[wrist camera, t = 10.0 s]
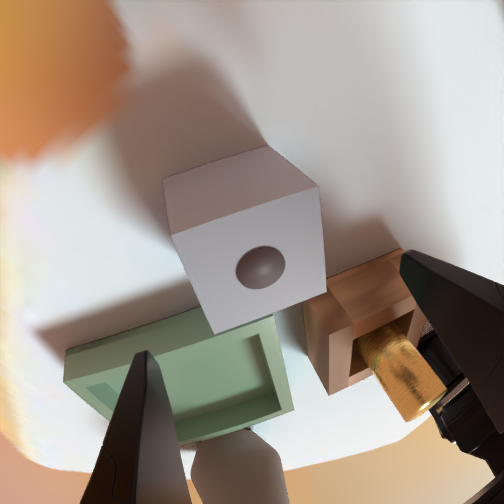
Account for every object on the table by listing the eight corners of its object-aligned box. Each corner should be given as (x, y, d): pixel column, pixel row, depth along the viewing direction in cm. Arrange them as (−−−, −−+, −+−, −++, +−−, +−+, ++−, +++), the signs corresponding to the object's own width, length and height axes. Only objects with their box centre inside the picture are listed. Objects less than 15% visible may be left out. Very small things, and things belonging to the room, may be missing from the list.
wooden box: (401, 247, 21) (436, 282, 18) (389, 319, 26) (415, 351, 23) (300, 289, 20) (329, 334, 17) (308, 356, 25) (328, 395, 22)
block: (267, 144, 14) (319, 186, 10) (283, 231, 17) (327, 292, 13) (162, 178, 14) (170, 236, 10) (194, 263, 17) (214, 335, 13)
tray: (258, 286, 19) (273, 315, 17) (284, 387, 27) (294, 409, 25) (66, 350, 17) (63, 381, 15) (149, 429, 25) (153, 452, 23)
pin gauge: (376, 288, 22) (453, 380, 15) (372, 317, 24) (438, 403, 17) (338, 305, 21) (412, 408, 14) (337, 333, 23) (400, 428, 16)
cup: (166, 440, 27) (187, 529, 20) (248, 409, 27) (284, 503, 20) (209, 459, 33) (231, 529, 25) (277, 433, 33) (308, 504, 26)
